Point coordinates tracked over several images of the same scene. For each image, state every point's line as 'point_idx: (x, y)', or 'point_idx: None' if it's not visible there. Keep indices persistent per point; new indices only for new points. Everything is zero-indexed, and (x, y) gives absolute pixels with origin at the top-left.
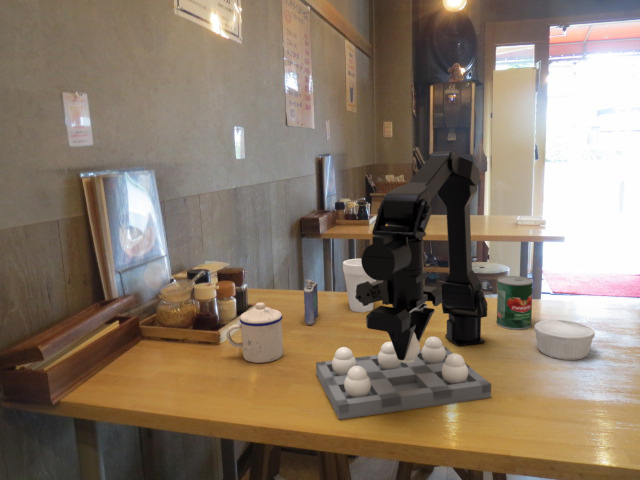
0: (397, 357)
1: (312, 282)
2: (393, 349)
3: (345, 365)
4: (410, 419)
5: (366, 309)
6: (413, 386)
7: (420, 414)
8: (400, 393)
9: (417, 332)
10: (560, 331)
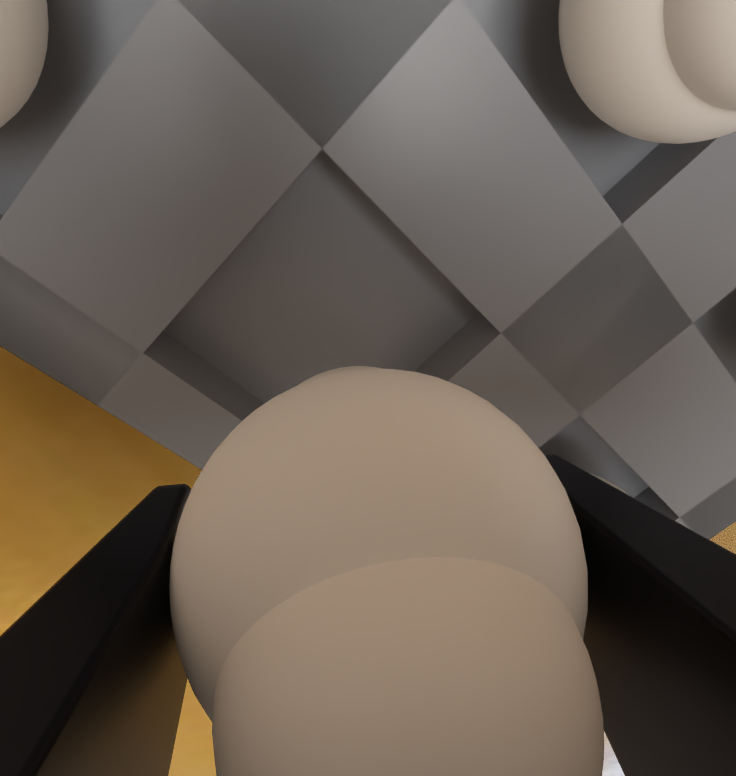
0: (144, 500)
1: None
2: (238, 432)
3: None
4: (73, 437)
5: None
6: (408, 323)
7: (162, 454)
8: (134, 381)
9: (649, 762)
10: None
